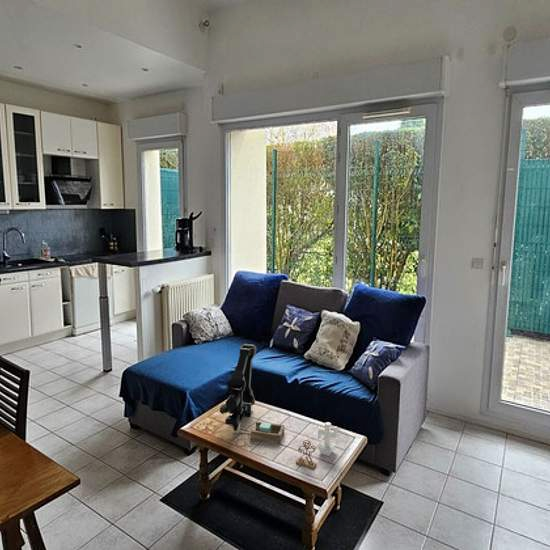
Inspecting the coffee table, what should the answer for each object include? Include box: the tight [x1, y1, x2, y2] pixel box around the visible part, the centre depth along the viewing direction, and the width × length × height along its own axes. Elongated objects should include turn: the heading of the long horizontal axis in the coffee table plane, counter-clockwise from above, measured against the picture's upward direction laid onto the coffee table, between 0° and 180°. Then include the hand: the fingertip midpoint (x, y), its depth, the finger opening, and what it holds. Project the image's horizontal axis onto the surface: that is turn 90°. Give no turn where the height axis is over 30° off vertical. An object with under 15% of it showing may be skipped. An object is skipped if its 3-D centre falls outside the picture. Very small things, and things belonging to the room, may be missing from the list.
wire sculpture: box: [295, 439, 317, 471], centre depth 190 cm, size 9×4×12 cm, turn 63°
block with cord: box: [233, 421, 271, 435], centre depth 214 cm, size 5×19×6 cm, turn 77°
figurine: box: [316, 421, 338, 457], centre depth 199 cm, size 7×9×15 cm
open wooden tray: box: [250, 420, 285, 445], centre depth 213 cm, size 10×15×4 cm
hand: (236, 429), depth 216 cm, fingers closed on block with cord, 3 cm apart
